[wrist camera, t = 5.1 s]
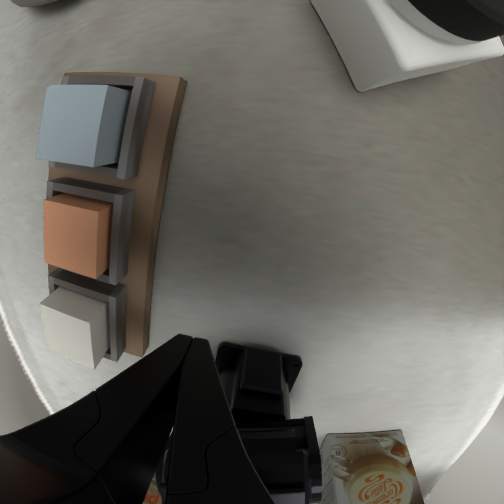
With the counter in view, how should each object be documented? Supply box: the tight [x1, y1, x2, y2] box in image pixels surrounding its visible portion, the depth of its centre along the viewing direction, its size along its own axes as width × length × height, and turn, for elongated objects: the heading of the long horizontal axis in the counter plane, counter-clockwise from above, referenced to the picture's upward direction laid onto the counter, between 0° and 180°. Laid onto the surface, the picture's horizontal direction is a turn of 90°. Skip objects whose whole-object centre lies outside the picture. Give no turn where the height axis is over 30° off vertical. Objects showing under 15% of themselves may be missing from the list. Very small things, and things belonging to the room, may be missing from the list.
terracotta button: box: [44, 192, 114, 279], centre depth 17 cm, size 4×4×3 cm
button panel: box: [47, 72, 187, 362], centre depth 18 cm, size 20×8×3 cm, turn 167°
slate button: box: [36, 85, 132, 167], centre depth 13 cm, size 4×4×3 cm
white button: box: [40, 286, 110, 370], centre depth 18 cm, size 4×4×3 cm
